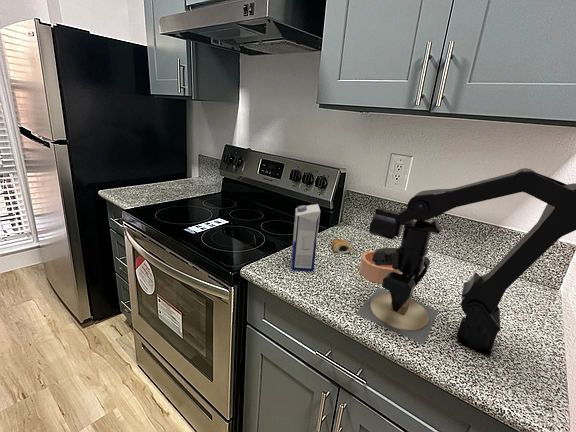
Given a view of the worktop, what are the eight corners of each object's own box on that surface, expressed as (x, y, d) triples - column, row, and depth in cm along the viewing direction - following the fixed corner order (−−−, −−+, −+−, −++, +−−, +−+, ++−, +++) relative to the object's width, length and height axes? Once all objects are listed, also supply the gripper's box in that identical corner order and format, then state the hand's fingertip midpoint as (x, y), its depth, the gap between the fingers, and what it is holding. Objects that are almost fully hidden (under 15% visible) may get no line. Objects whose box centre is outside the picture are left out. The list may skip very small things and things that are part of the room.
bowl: (404, 275, 98) (407, 259, 96) (391, 290, 89) (395, 273, 87) (368, 262, 104) (370, 247, 103) (353, 275, 95) (355, 259, 93)
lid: (433, 310, 80) (439, 291, 78) (419, 339, 69) (425, 318, 67) (381, 290, 87) (384, 272, 85) (361, 313, 76) (364, 293, 74)
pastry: (328, 243, 118) (329, 233, 117) (345, 243, 119) (346, 234, 117) (333, 254, 109) (335, 244, 108) (352, 254, 110) (354, 244, 109)
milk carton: (313, 272, 95) (320, 210, 89) (291, 270, 95) (297, 208, 88) (311, 261, 102) (318, 203, 95) (291, 260, 102) (296, 201, 95)
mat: (438, 312, 80) (438, 310, 80) (422, 346, 68) (423, 344, 67) (378, 289, 89) (379, 287, 88) (355, 315, 76) (355, 313, 76)
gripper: (392, 225, 83) (382, 276, 89) (365, 246, 69) (355, 305, 74) (436, 237, 77) (423, 291, 82) (417, 263, 63) (402, 326, 68)
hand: (401, 302), depth 77 cm, fingers open, 9 cm apart
